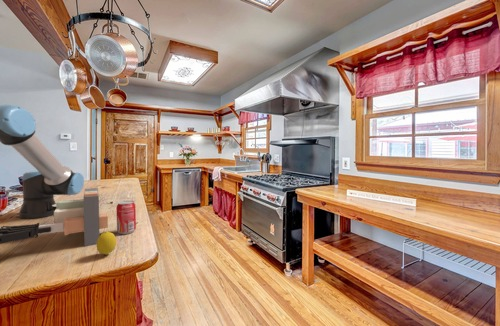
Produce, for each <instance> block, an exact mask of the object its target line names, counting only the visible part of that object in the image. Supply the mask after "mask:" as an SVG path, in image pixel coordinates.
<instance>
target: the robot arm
mask: <svg viewBox="0 0 500 326" xmlns="http://www.w3.org/2000/svg"><path fill="white" fill-rule="evenodd" d="M35 122H36V120H35V118H34V116H33V115H32V114H31V112H29V111H28V109H25V108H24V107H22V106H18V105H11V104H0V143H1V144H2V145H4V146H11V147H12V148H13V149H14V150H15V151H16V152H17V153H19V155H20V156H22V157H23V158H24V159H25V160H26V162H28V163H29V164H30V165H31V166H32V167H33V168H34V169H35V170H36V171H29V172H25V173H23V174H22V181H21V183H22V184H21V185H22V186H21V187H22V197H23V198H22V204H21V207H20V209H19V212H18V218H19V219H24V220H25V219H38V218H45V217H49V216H54V213H53V207H52V205H54V204H56V203H57V202H56V200H55V198H54V196H75V195H78V194H80V192H81V191H82V190H83V189H84V184H85V179H84V175H83V174H82V173H81V172H74V171H73V170H72V169H71V168H70V167H68V166H65V165H63V164H62V163H61V161H59V160H58V159H57V158H56V157H55V156H54V155H53V154H52V152H51V151H50V150H49V149H48V148H47V147H46V146H45V145H44V144H43V142H42V141H41V140H40V139H39V138H38V137H37V136H36V129H37V124H36V123H35ZM58 232H64V222H62V223H54V222H53V223H48V224H40V222H37V223H34V224H33V223H32V224H21V225H3V226H1V227H0V245H1V244H7V243H12V242H17V241H21V240H27V239H32V238H34V237H35V238H39V235H45V234H51V233H58Z"/></svg>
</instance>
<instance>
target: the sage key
mask: <svg viewBox="0 0 500 326" xmlns="http://www.w3.org/2000/svg"><path fill="white" fill-rule="evenodd" d="M55 203H56V209H59V210H63V209H72V208H82V207H84V198H82V199H81V198H80V199H71V200H57V201H56V202H55Z"/></svg>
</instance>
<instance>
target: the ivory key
mask: <svg viewBox="0 0 500 326" xmlns="http://www.w3.org/2000/svg"><path fill="white" fill-rule="evenodd" d="M68 217H69V218H76V217H84V207H82V208H72V209H63V210H59V209H55V211H54V215H53V224H54V223H62V222H64V220H65V218H68Z"/></svg>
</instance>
